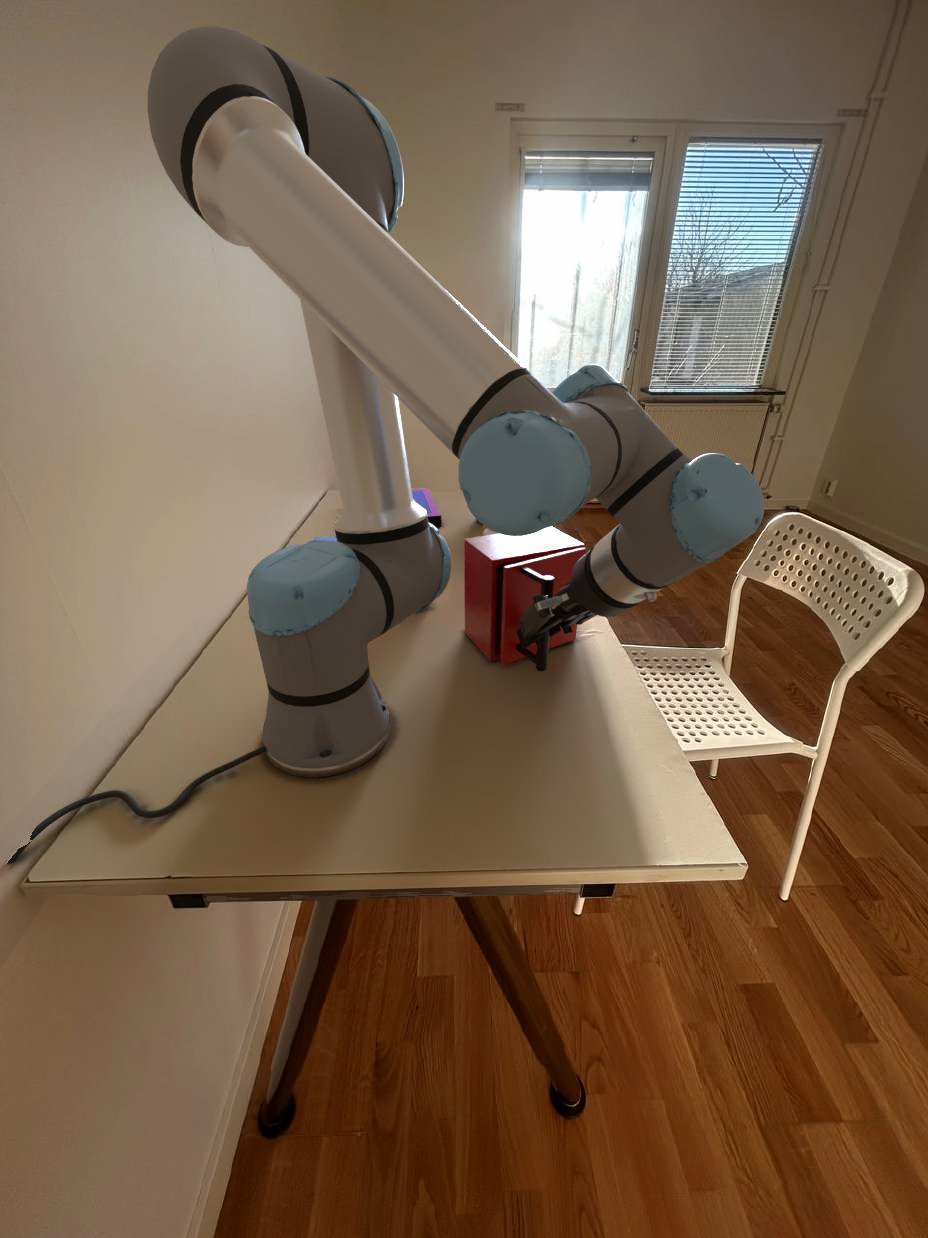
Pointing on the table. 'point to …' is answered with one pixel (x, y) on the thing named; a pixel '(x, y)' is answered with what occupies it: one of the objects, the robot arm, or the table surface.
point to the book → (427, 505)
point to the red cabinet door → (518, 596)
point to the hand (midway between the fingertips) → (528, 637)
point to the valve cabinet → (500, 578)
